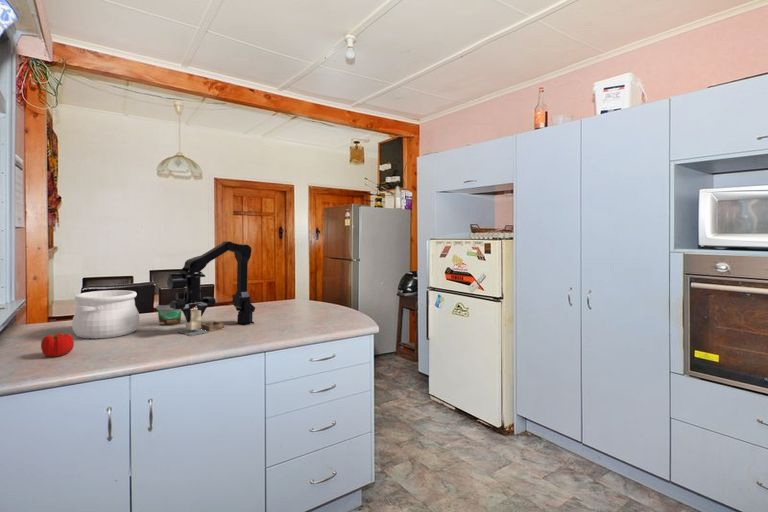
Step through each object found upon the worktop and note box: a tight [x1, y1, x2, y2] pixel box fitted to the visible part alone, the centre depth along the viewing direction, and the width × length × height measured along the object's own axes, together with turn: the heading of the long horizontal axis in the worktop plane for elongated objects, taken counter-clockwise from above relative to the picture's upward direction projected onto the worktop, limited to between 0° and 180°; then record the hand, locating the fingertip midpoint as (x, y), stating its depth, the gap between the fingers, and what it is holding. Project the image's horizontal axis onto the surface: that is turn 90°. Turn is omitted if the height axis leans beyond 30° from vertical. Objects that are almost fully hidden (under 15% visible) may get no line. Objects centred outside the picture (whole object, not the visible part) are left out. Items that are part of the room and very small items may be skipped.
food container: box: [155, 303, 183, 327], centre depth 195 cm, size 12×6×10 cm, turn 143°
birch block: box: [185, 309, 202, 330], centre depth 181 cm, size 4×4×8 cm
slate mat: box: [178, 329, 209, 337], centre depth 181 cm, size 8×10×1 cm
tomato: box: [40, 332, 75, 358], centre depth 145 cm, size 9×9×8 cm
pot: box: [71, 289, 141, 340], centre depth 176 cm, size 26×24×18 cm
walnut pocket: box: [199, 320, 225, 332], centre depth 188 cm, size 8×8×2 cm
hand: (193, 321), depth 181 cm, fingers closed on birch block, 4 cm apart
